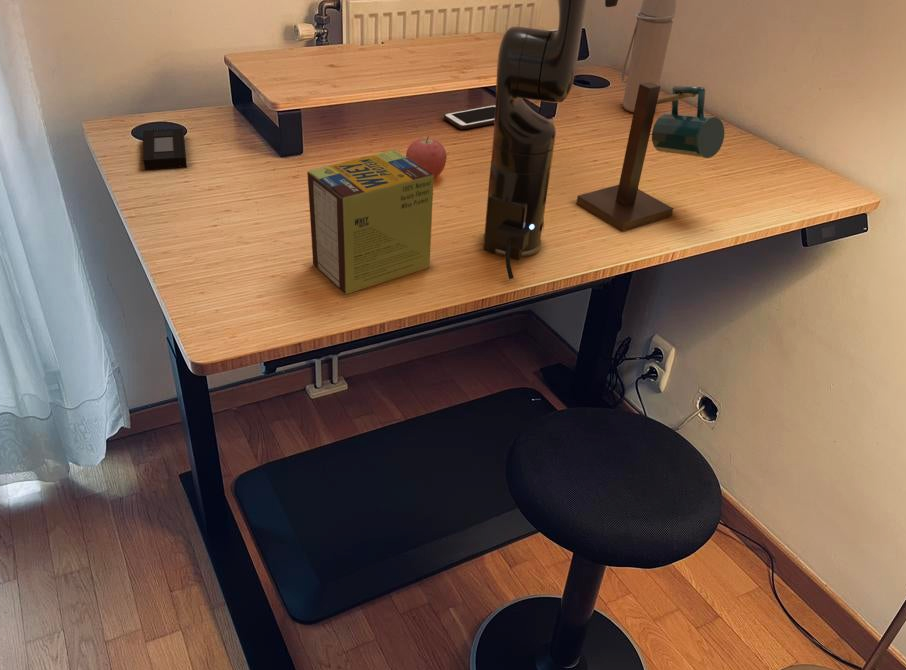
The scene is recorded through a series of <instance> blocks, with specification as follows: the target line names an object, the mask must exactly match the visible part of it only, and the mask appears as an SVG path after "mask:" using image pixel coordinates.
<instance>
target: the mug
mask: <svg viewBox="0 0 906 670" xmlns="http://www.w3.org/2000/svg"><path fill="white" fill-rule="evenodd" d="M679 93H685V94H697V106H696V107H697V108H696V114H686V113H679V103H680V100H676V101H671V112H667V113H663V114H662V115H660V116H659V117H658V118H657V119H656V121H655V123H654V125H653V127H652V130H651V142H652V146H653V148H654V149H655V150H656V151H657V152H659V153H664V154H671V155H679V156H687V157H693V158H699V159H700V158H701V159H710V158H713V157H714V156H715V155H717V153H718V152H719V151H720V150H721V148H722V146H723V144H724V140H725V126H724V123H723V121H722V119H720V118H719V117H717V116H710V115H705V105H706V104H705V103H706V102H705V101H706V99H705V98H706V88H705V87H703V86H683V85H682V86H681V85H674V86H673V87H672V89H671V95H674V94H679Z"/></svg>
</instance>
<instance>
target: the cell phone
mask: <svg viewBox="0 0 906 670" xmlns="http://www.w3.org/2000/svg"><path fill="white" fill-rule="evenodd" d="M495 105H496V104H491V105H486V106H480V107H474V108H469V109H468V108H467V109H465V110H464V109H462V110H458V111H452V112H446V113H444V114H443V119H444V120H445V121H447V122H448V123H450V124H452V125H453V126H454V127H456V128H458V129H460V130H467V129H468V130H469V129H472V128H478V127H483V126H488V125H494V118H495Z"/></svg>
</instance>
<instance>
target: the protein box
mask: <svg viewBox="0 0 906 670" xmlns="http://www.w3.org/2000/svg"><path fill="white" fill-rule="evenodd" d="M434 180H435V178H434V174H432V173H431V172H429V171H428V170H426V169H424V168H423V167H421V166H420V165H418V164H416V163H415V162H413V161H412V160H410V159H409V158H407V157H406V155H405V154H402V153H401V152H400V151H398V150H396V149H392V150H389V151H384V152H380V153H377V154H373V155H368V156H362V157H360V158H355V159H350V160H346V161H343V162H338V163H334V164H330V165H326V166H322V167H317V168H314V169H310V170H308V171H307V188H308V189H307V190H308V203H309V206H308V207H309V218H310V219H309V220H310V235H311V250H312V251H311V252H312V265H313V267H315V268H316V269H317V270H318V271H319V272H321V273H322V274H323V276H324V277H326V278H327V279H328V280H329V281H330V282H331V283H332V284H334V285H335V286H336V287H337V288H338V289H339V290H340V291H341V292H342V293H343V294H345V295H348V294H351V293H354V292H358V291H360V290H361V291H362V290H364V289H368V288H371V287H373V286H376V285H379V284H383V283H386V282H389V281H392V280H395V279H399V278H401V277H405V276H408V275H411V274H414V273H418V272H421V271H423V270H426V269H429V268H430V264H431V247H432V246H431V244H432V226H433V225H432V221H433V201H434V199H433V198H434Z"/></svg>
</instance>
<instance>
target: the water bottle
mask: <svg viewBox="0 0 906 670" xmlns="http://www.w3.org/2000/svg"><path fill="white" fill-rule="evenodd" d="M676 8H677V0H642V2H641V7H640V9H639V11H637V12H636V14H635V17H636V23H635V27H634V30H633V33H632V37H631V40H630V44H629V47H628V51H627V53H626V56H625V57H626V58H625V61H624V64H623V67H622V70H621V71H622V73H621V83H623V84H626V85H625V90H624V94H623V99H622V107H623V108H624V110H626V111H628V112H629V113H632V114H634V109H635V104H636V99H637V94H638V89H639V84H642V83H647V82H652V83H654V84H656V85H659V86H660V81H661V78H662V73H663V67H664V63H665V59H666V54H667V50H668V45H669V40H670V37H671V32H672V26H673V23H674V21H673V19H674V18H675V16H676V15H675V14H676ZM631 50H632V51H631ZM630 53H631V57H630ZM629 57H630V62H629V67H628V74H627V78H626V80H625V73H626V72H625V71H626V67H627V64H628V60H629Z"/></svg>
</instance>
